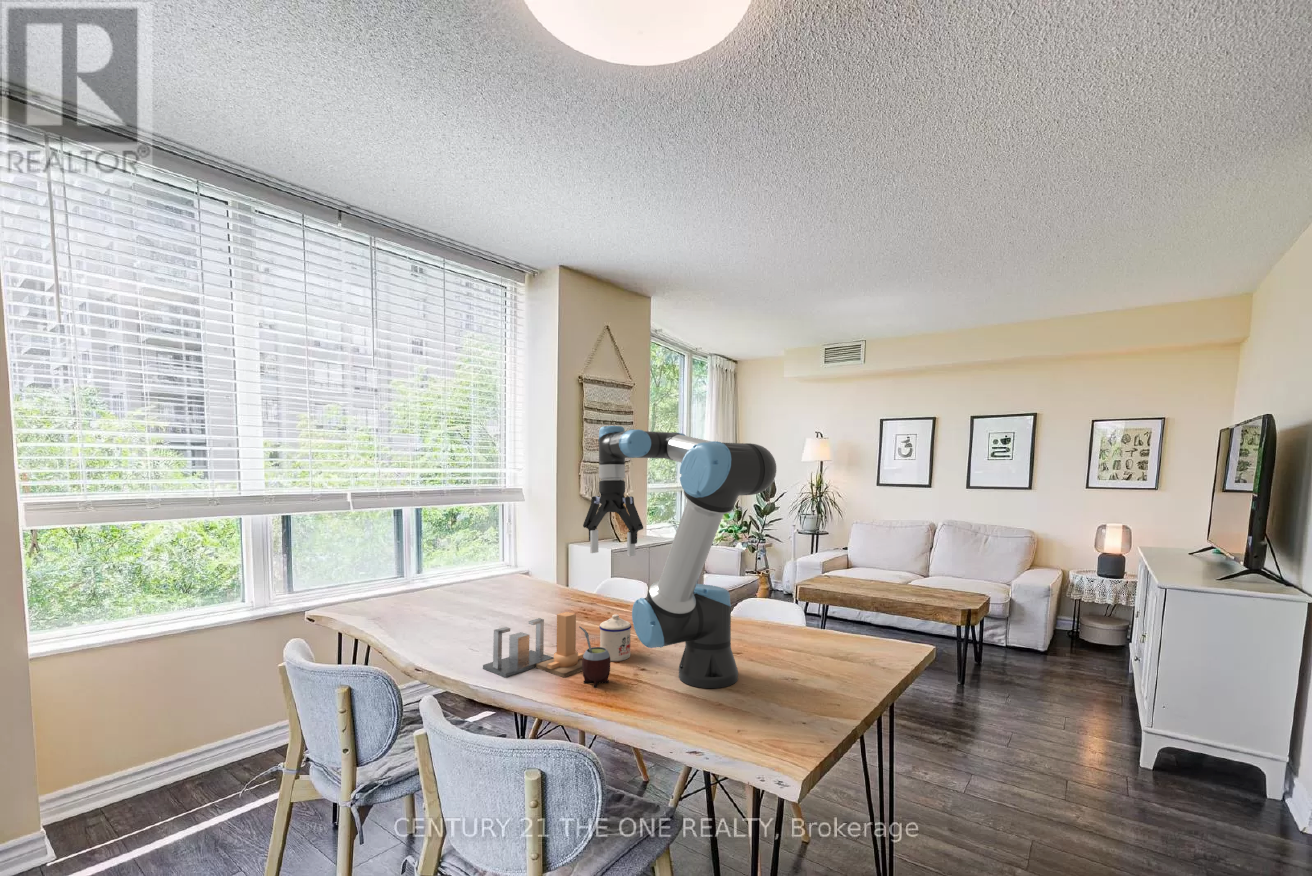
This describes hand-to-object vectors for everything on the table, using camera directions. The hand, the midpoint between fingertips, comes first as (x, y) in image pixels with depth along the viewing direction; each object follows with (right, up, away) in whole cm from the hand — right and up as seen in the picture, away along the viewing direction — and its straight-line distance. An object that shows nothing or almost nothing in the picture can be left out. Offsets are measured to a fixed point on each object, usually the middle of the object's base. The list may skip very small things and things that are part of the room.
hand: (612, 554), depth 159 cm
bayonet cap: (-12, -28, -9) cm, 31 cm away
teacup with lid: (+1, -29, +1) cm, 29 cm away
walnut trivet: (-12, -29, -9) cm, 32 cm away
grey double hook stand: (-25, -29, -7) cm, 39 cm away
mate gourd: (-3, -28, -21) cm, 35 cm away
